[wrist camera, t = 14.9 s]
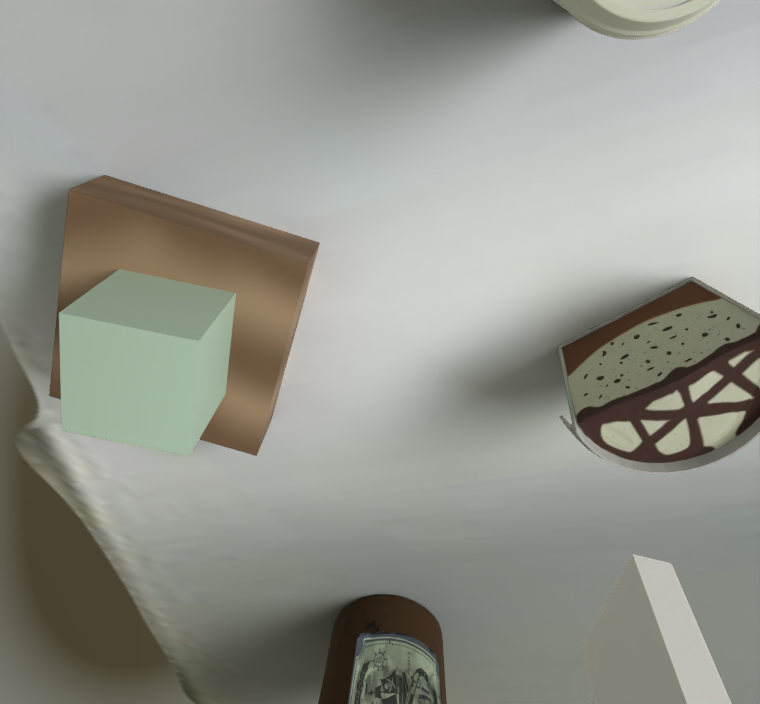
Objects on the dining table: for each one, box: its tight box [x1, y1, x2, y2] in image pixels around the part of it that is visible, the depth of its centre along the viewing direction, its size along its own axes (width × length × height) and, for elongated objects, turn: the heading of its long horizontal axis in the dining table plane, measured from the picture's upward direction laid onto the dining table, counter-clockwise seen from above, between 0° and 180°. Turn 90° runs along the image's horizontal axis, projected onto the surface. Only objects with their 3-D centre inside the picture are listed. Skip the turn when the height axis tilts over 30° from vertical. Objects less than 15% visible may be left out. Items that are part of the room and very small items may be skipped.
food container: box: [558, 277, 760, 474], centre depth 39 cm, size 12×6×10 cm, turn 123°
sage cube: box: [59, 269, 236, 456], centre depth 37 cm, size 7×7×7 cm
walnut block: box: [49, 175, 319, 456], centre depth 42 cm, size 14×14×5 cm
